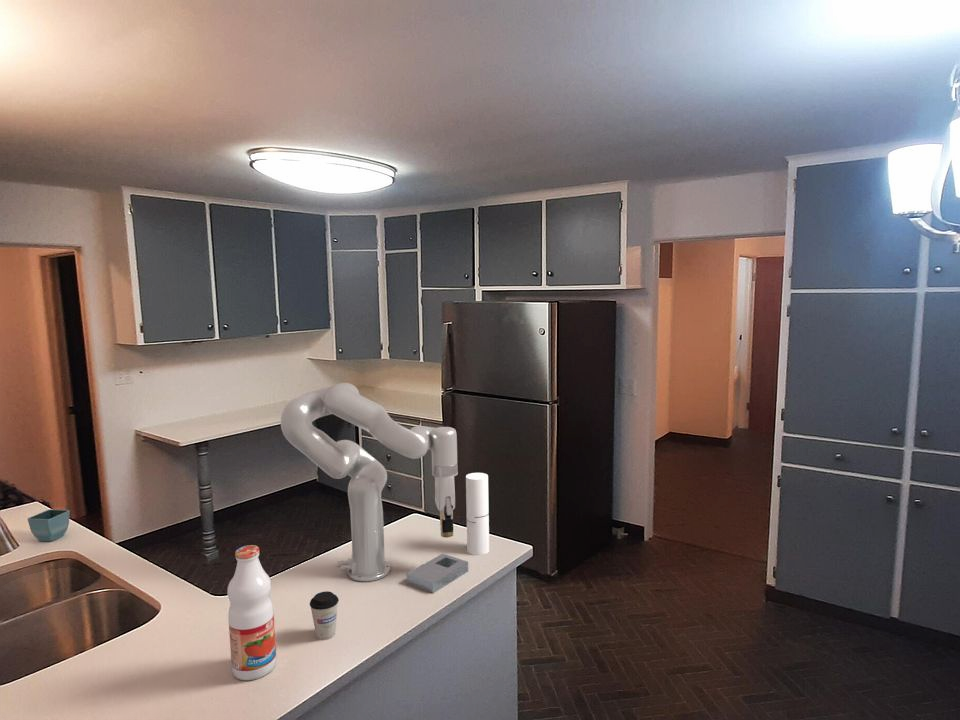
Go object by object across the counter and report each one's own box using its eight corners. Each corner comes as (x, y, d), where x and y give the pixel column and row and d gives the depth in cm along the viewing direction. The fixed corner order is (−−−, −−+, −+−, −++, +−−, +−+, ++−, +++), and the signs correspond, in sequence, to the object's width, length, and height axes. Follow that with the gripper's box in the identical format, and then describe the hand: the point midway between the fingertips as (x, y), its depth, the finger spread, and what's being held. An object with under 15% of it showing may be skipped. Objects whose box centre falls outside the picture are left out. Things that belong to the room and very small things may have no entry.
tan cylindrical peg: (441, 538, 173) (440, 512, 172) (439, 533, 177) (439, 507, 176) (454, 536, 174) (453, 510, 173) (452, 531, 178) (451, 506, 177)
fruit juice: (253, 651, 139) (246, 538, 135) (285, 660, 135) (279, 543, 132) (222, 676, 130) (214, 555, 127) (256, 685, 126) (248, 561, 123)
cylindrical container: (489, 555, 188) (488, 479, 185) (466, 555, 188) (465, 479, 185) (489, 545, 195) (488, 472, 192) (467, 545, 195) (466, 472, 192)
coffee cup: (309, 630, 147) (307, 592, 146) (337, 624, 150) (335, 586, 149) (313, 645, 141) (311, 606, 139) (342, 638, 143) (340, 599, 142)
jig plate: (433, 593, 164) (433, 583, 164) (407, 583, 170) (406, 573, 170) (468, 571, 177) (468, 561, 177) (442, 562, 183) (442, 553, 183)
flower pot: (28, 543, 202) (26, 518, 201) (51, 533, 211) (49, 509, 210) (51, 544, 201) (48, 519, 200) (72, 534, 210) (70, 510, 208)
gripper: (429, 462, 181) (430, 519, 183) (435, 478, 164) (437, 541, 166) (453, 460, 182) (454, 517, 184) (462, 476, 166) (463, 538, 168)
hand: (446, 528), depth 175 cm, fingers closed on tan cylindrical peg, 3 cm apart
